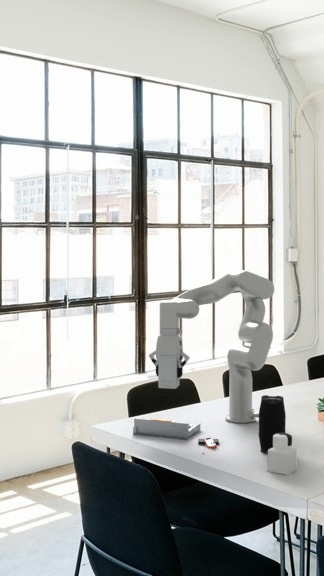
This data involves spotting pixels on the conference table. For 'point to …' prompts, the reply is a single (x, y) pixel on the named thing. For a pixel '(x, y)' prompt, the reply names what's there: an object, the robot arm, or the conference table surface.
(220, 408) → the conference table surface
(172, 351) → the robot arm
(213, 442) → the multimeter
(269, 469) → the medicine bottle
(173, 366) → the supplement box
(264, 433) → the portable speaker
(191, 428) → the grey tray
